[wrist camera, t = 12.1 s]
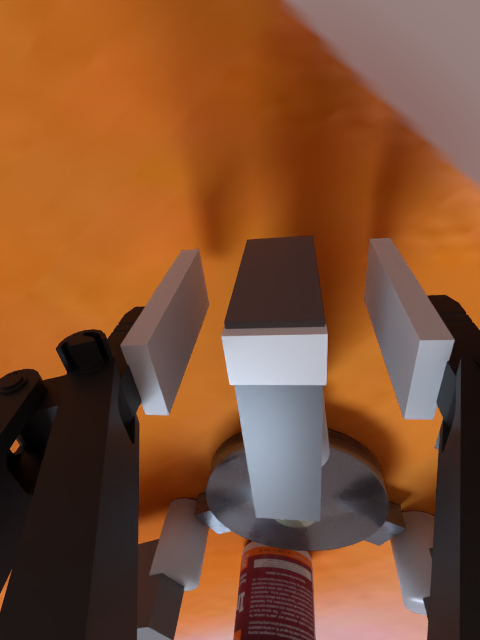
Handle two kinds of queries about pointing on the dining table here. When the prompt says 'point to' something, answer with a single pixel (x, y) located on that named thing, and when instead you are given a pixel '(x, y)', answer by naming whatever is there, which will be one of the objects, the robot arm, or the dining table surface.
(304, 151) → the dining table surface
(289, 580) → the pill bottle
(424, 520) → the dark bar with dome
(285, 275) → the grey bar white cap
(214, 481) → the base
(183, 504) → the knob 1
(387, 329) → the robot arm
